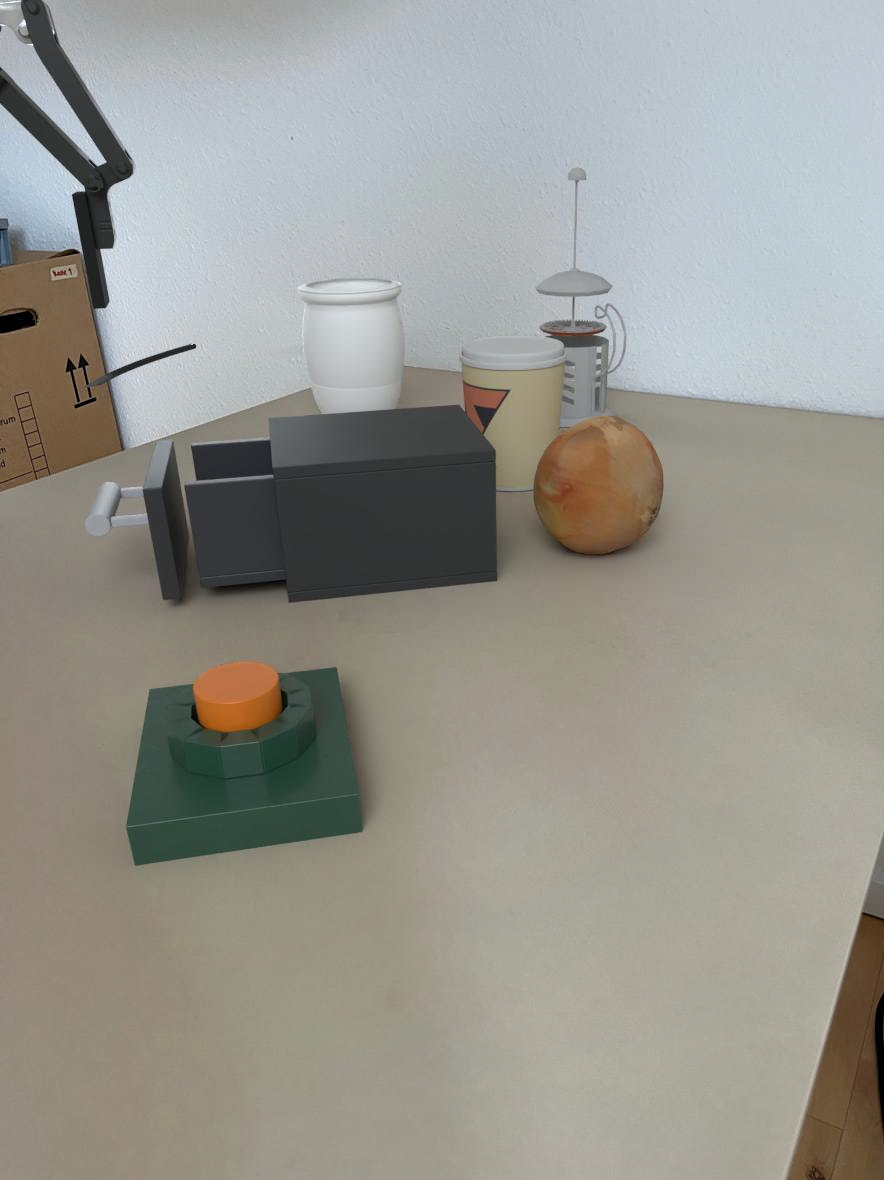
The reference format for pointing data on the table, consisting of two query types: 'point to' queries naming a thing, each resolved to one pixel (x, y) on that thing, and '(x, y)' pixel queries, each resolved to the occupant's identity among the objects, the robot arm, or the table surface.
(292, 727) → the green button housing
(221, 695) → the button
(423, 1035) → the table surface
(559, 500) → the onion
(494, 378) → the coffee cup
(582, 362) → the french press
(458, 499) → the drawer cabinet
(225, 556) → the pull-out drawer
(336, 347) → the jar
